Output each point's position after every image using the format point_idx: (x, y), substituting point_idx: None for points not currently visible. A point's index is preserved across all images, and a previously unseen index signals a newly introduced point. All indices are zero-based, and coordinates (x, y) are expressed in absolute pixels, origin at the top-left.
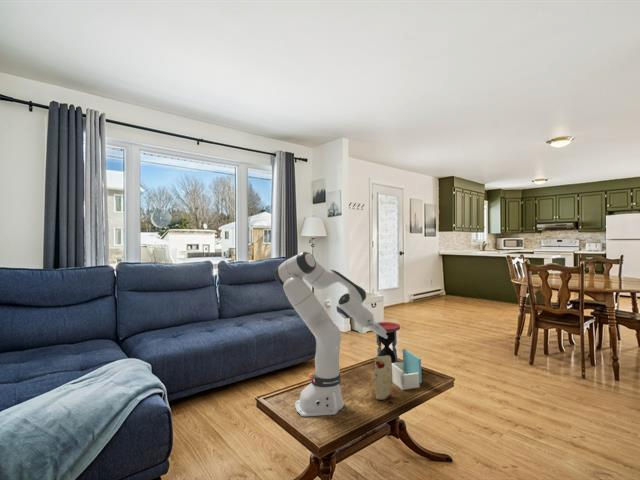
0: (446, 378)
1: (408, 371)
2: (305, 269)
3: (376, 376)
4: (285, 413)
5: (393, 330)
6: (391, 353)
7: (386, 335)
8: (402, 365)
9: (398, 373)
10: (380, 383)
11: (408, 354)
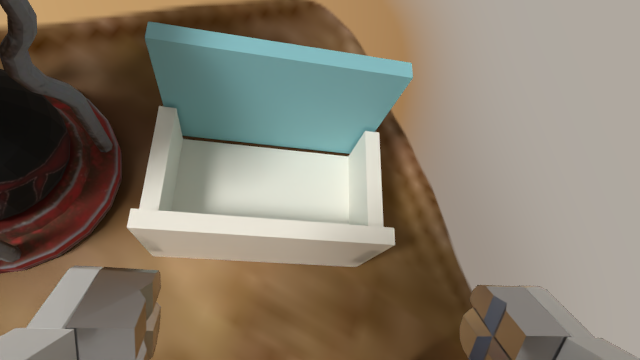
0: (312, 8)
1: (239, 132)
2: None
3: None
4: None
5: None
6: (11, 105)
7: (568, 322)
8: (176, 126)
9: (340, 248)
10: None
11: (253, 63)
